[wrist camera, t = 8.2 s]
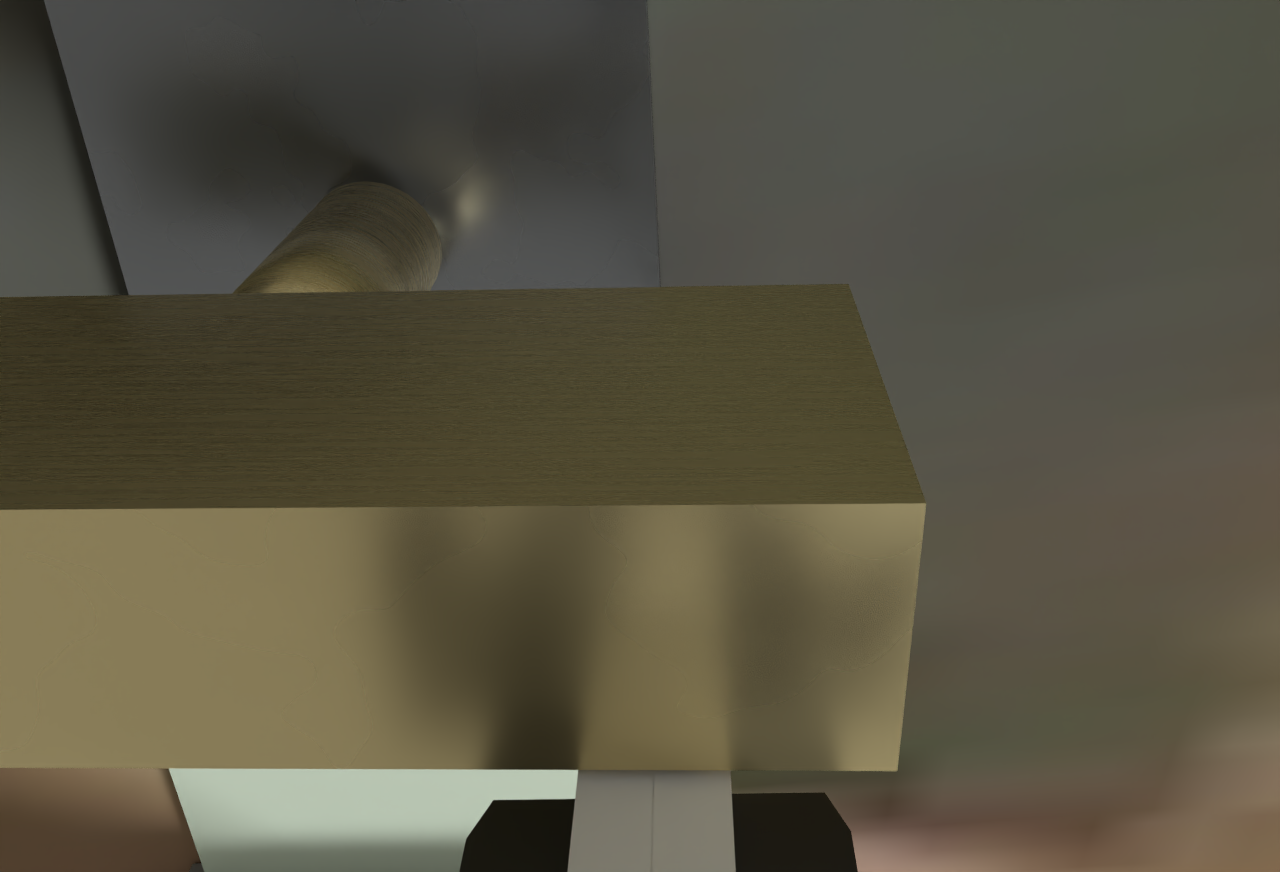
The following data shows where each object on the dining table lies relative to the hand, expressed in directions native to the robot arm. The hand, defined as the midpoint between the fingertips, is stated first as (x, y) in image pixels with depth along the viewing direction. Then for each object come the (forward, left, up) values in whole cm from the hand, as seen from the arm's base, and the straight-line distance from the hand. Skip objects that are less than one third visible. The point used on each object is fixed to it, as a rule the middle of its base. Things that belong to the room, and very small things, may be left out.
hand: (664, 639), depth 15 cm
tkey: (-3, -5, -7) cm, 9 cm away
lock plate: (-3, -5, -8) cm, 10 cm away
